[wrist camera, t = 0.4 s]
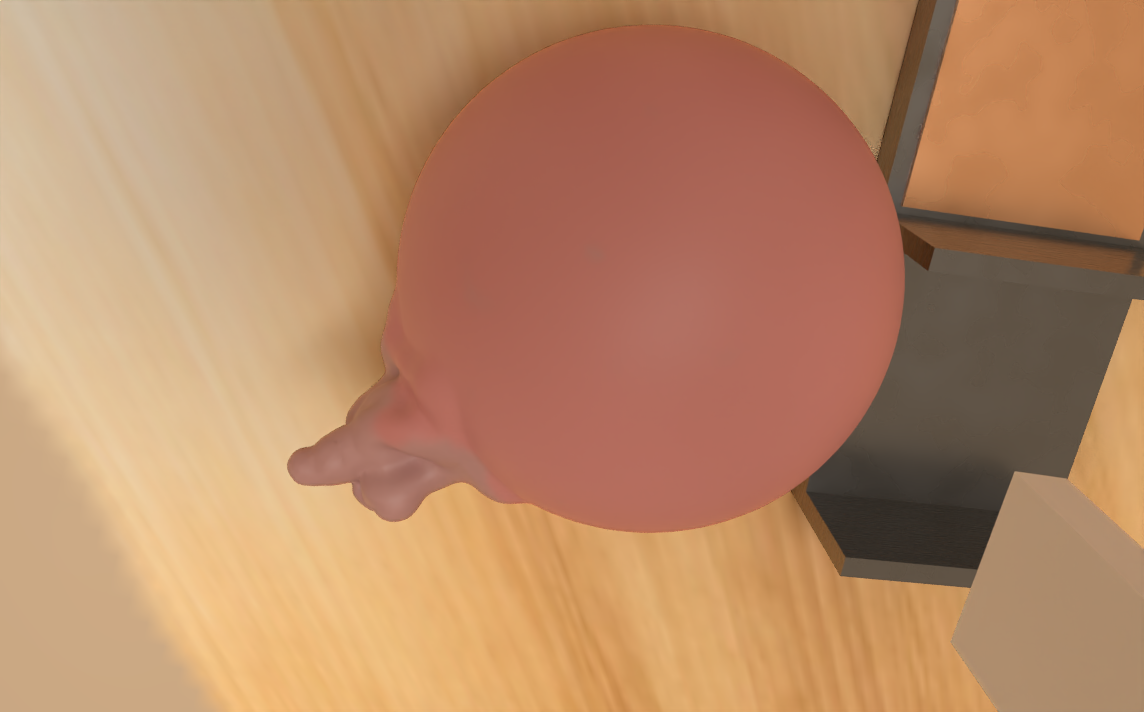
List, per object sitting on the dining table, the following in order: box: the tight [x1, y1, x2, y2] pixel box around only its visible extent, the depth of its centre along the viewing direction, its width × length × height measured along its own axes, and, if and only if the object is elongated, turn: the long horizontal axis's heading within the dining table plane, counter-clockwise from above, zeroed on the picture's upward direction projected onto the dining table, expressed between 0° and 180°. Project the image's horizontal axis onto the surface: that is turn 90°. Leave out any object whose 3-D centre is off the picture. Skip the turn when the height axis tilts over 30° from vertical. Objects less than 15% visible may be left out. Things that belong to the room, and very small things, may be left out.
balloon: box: [287, 25, 905, 533], centre depth 34 cm, size 15×20×15 cm
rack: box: [791, 0, 1144, 588], centre depth 39 cm, size 25×11×8 cm, turn 171°
